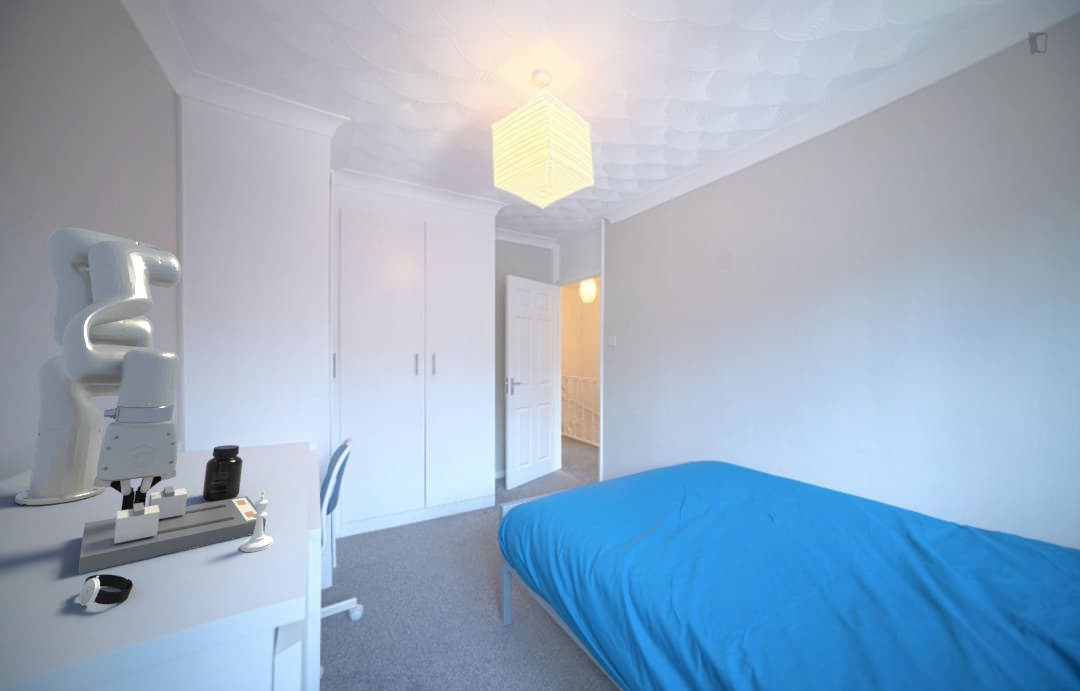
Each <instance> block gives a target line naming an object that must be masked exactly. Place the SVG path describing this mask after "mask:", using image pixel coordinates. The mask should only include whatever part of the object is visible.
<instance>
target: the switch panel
mask: <svg viewBox="0 0 1080 691" xmlns="http://www.w3.org/2000/svg"><path fill="white" fill-rule="evenodd" d="M256 513H257V509H256V506H255V503H254V502H252V500H251V499H250V498H249V496H247V495H246V496H239V497H235V498H232V499H227V500H221V501H215V502H209V501H208V502H205V503H204V502H203V503H198V504H191V505H186V510H185V515H179V516H173V517H168V518H162V519H159V521H158V529H157V535H155V536H150V537H145V538H140V539H135V540H130V541H125V542H120V543H115V544H114V531H115V523H116V517H113V518H107V519H106V518H105V519H102V520H101V519H100V520H95V521H88V522H85V523H84V525H83V534H82V541H81V547H80V554H79V562H78V571H77V575H80V574H85V573H90V572H93V571H99V570H103V569H108V568H112V567H117V566H120V565H124V564H130V563H133V562H138V561H141V560H142V561H143V560H147V558H148V559H152V558H155V556H156V557H159V556H158V555H161V556H164V555H163V554H165V555H170V554H173V553H172V552H174V553H177V552H176V551H178V552H181V551H180V550H183V551H186V550H185V549H187V550H190V549H189V548H191V549H194V548H193V547H196V548H198V547H197V546H200V547H203V546H202V545H204V546H208V545H207V544H209V545H212V544H217V543H221V541H222V542H226V541H230V540H229V539H231V540H233V539H232V538H235V539H238V538H237V537H240V538H243V537H242V536H244V537H247V536H246V535H248V536H250V535H249V534H253V532H254V529H255V525H256V520H257V518H254V517H253V516H254V514H256ZM266 522H267V521H266V516H265V517H263V531H264V532H265V528H266ZM225 540H226V541H225ZM151 557H152V558H151Z"/></svg>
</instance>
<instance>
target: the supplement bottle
mask: <svg viewBox="0 0 1080 691" xmlns="http://www.w3.org/2000/svg"><path fill="white" fill-rule="evenodd" d="M239 450H240V446H239V445H235V444H226V445H217V446H215V447H213V451H212V458H211V459H209V460H208V461H207V463H206V466H205V473H204V482H203V490H202V499H203V501H205V502H208V503H209V502H215V501H221V500H227V499H233V498H237V497H238V496H239V493H240V488H241V479H242V473H243V472H242V471H243V470H242V469H243V458H242V457H240V456H238V455H239V453H240V452H239Z"/></svg>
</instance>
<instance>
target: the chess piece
mask: <svg viewBox="0 0 1080 691" xmlns="http://www.w3.org/2000/svg"><path fill="white" fill-rule="evenodd" d="M265 495H266V492H265V490H261V493H260V498H259V499H260V500H256V501H255V503H254V505H255V506H256V509H257V513H256V514H254V516H253V517H254V518H257V520H256V525H255V529H254V532H253V535H250V536H249V538H247V539H245V540H244V541H242V542H241V545H240V547H239V550H240V551H242V552H244V553H254V552H261V551H264V550H267V549H268V548H270V547H271V546H273V543H274V540H273V537H272V536H268V535H266V534H265V532H263V517H265V518H266V517H267V516H268V512H266V511H265V510H266V508H267V506H268V504H269V501H268V500H267V499H265Z"/></svg>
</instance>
